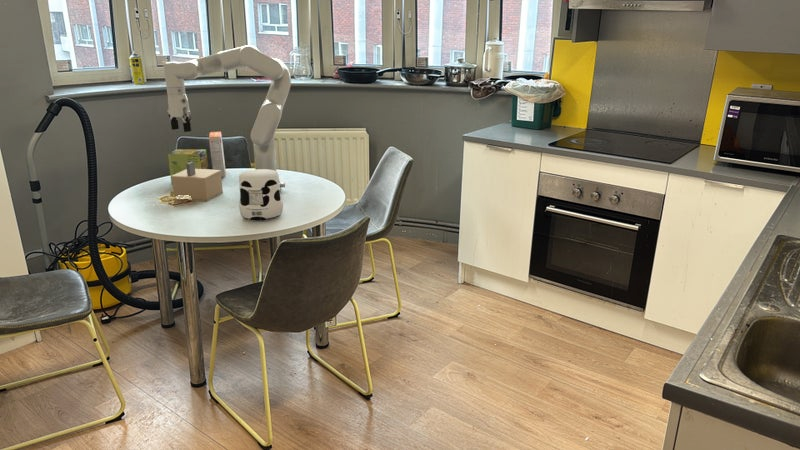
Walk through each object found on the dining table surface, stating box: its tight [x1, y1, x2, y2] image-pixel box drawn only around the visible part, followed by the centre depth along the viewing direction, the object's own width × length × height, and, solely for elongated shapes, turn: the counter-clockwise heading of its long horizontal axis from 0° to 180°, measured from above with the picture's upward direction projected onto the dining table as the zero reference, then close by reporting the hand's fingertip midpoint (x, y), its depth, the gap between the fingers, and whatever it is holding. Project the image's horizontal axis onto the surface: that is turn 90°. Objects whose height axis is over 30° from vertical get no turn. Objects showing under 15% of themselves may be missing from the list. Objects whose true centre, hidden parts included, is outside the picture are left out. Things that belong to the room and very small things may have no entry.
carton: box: [171, 172, 224, 202], centre depth 273 cm, size 16×14×10 cm
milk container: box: [238, 169, 284, 222], centre depth 243 cm, size 17×17×18 cm
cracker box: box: [208, 131, 226, 178], centre depth 308 cm, size 14×6×21 cm, turn 14°
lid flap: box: [170, 162, 221, 179], centre depth 270 cm, size 16×14×6 cm
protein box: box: [167, 148, 209, 186], centre depth 294 cm, size 10×15×16 cm
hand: (181, 130), depth 270 cm, fingers open, 9 cm apart
